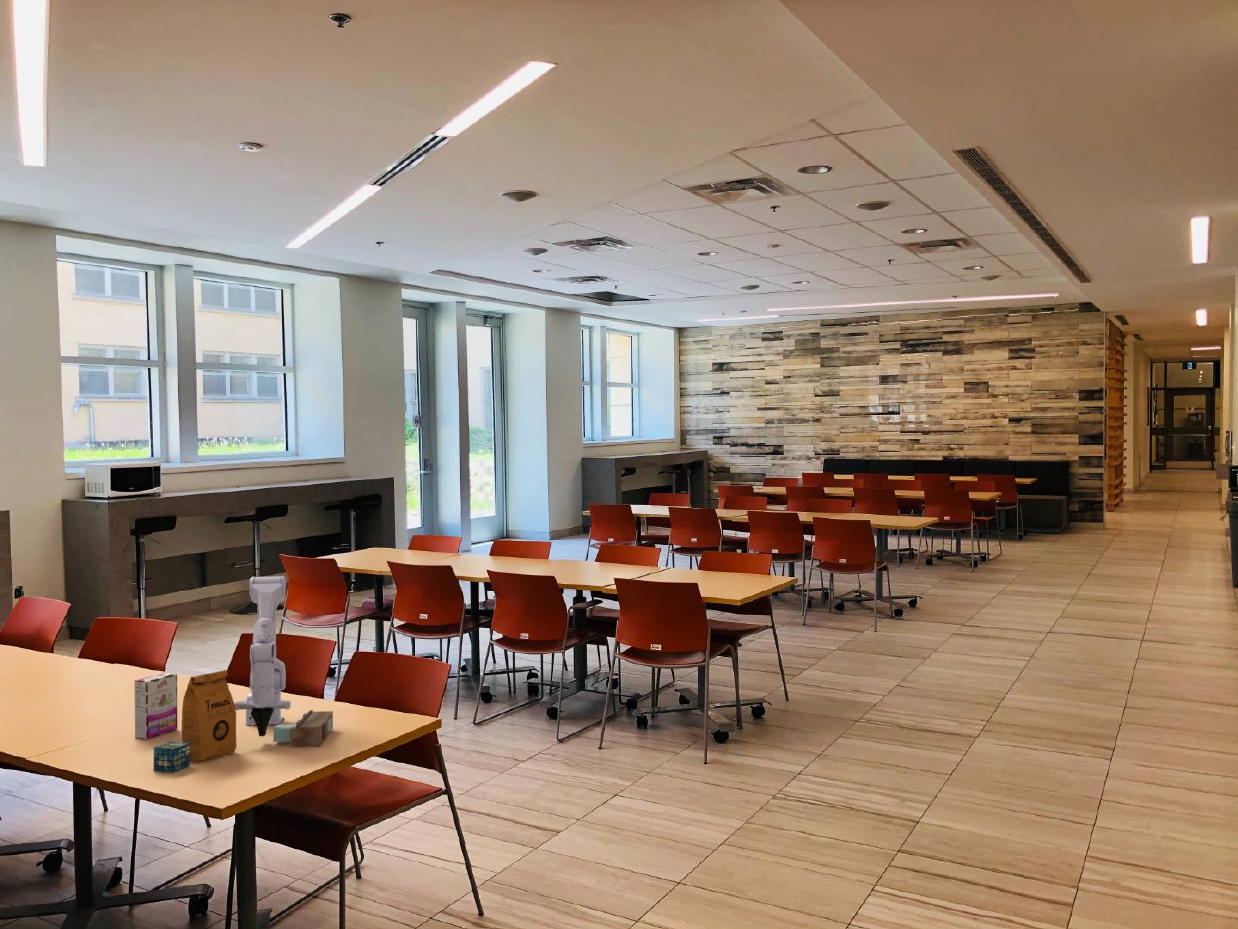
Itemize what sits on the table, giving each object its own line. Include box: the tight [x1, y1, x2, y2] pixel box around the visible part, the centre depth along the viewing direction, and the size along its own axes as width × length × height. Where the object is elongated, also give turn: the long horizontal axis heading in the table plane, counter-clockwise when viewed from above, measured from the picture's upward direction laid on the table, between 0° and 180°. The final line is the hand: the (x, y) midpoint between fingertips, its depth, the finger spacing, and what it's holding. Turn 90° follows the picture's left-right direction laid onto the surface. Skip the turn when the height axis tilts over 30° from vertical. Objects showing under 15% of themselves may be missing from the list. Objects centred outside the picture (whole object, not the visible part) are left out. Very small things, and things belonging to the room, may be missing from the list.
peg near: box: [272, 724, 296, 743], centre depth 265 cm, size 8×4×4 cm, turn 95°
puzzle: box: [153, 740, 191, 774], centre depth 242 cm, size 6×6×6 cm
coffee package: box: [181, 669, 238, 761], centre depth 253 cm, size 10×12×22 cm
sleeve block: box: [289, 709, 334, 748], centre depth 270 cm, size 8×17×6 cm, turn 5°
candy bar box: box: [134, 672, 178, 740], centre depth 274 cm, size 11×5×16 cm, turn 160°
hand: (262, 735), depth 265 cm, fingers closed
